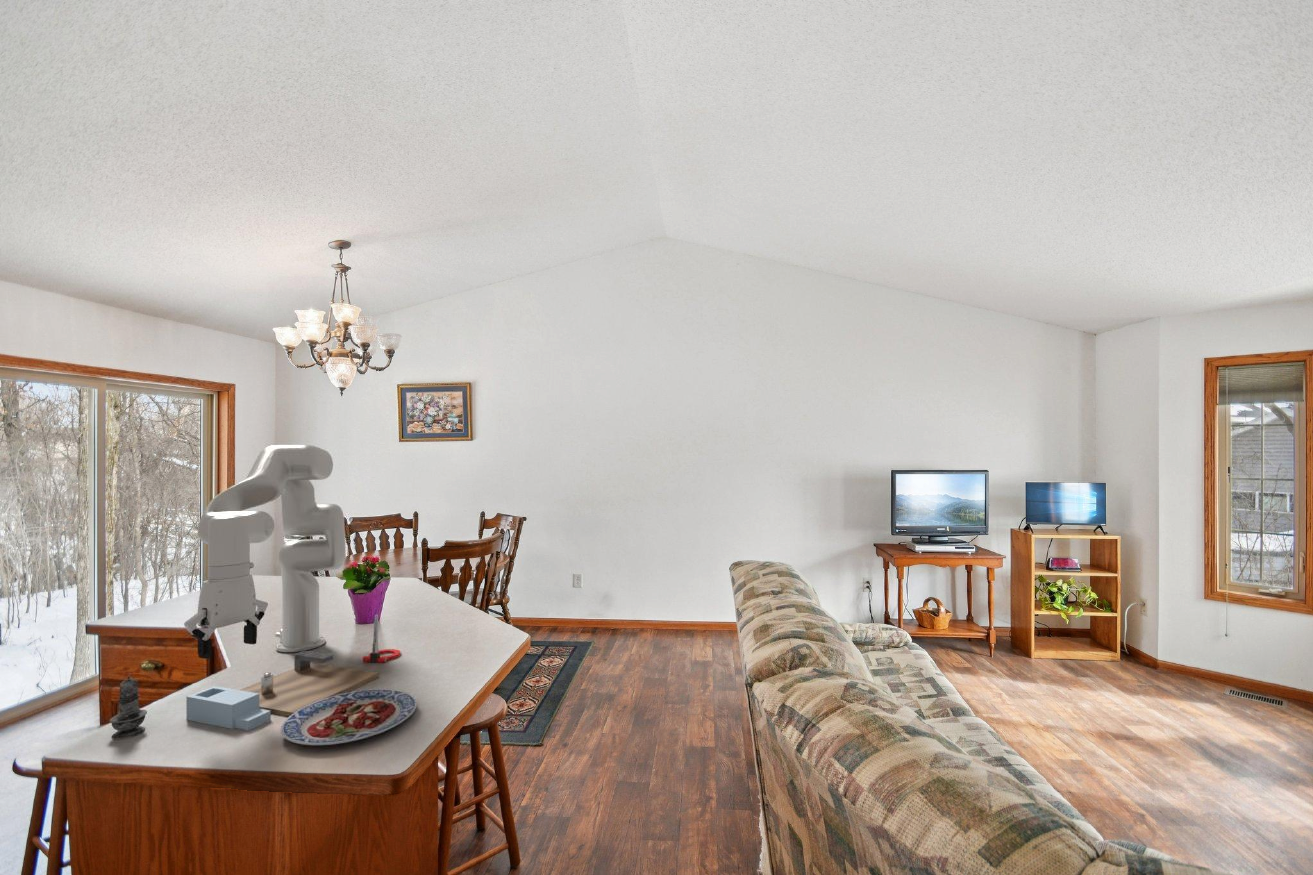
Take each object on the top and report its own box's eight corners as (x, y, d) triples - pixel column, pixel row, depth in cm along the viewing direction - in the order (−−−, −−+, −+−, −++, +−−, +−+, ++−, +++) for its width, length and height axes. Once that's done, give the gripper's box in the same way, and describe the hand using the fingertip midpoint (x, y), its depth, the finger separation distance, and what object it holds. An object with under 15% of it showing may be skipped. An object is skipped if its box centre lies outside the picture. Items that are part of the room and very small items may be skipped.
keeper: (294, 670, 154) (294, 654, 154) (304, 666, 157) (304, 650, 157) (323, 675, 151) (323, 658, 151) (333, 670, 154) (333, 654, 154)
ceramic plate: (328, 698, 140) (328, 685, 140) (435, 698, 139) (435, 685, 139) (249, 754, 114) (249, 739, 114) (380, 755, 114) (380, 739, 114)
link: (272, 718, 129) (272, 695, 129) (245, 731, 123) (245, 707, 123) (214, 707, 135) (214, 685, 135) (186, 719, 129) (186, 696, 129)
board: (217, 703, 137) (217, 698, 137) (308, 666, 160) (308, 662, 160) (294, 717, 129) (294, 712, 129) (378, 676, 152) (378, 672, 152)
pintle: (258, 694, 140) (258, 674, 140) (268, 690, 142) (268, 670, 142) (266, 695, 139) (266, 675, 139) (275, 691, 141) (275, 672, 141)
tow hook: (379, 652, 172) (359, 662, 163) (381, 607, 173) (360, 614, 164) (406, 653, 171) (387, 664, 162) (407, 608, 171) (388, 616, 162)
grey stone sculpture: (124, 727, 126) (125, 670, 126) (154, 725, 126) (154, 669, 126) (101, 740, 120) (101, 681, 120) (132, 739, 120) (132, 680, 121)
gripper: (254, 563, 139) (254, 637, 138) (174, 578, 122) (173, 662, 122) (278, 565, 136) (277, 640, 136) (199, 580, 120) (198, 665, 120)
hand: (228, 650), depth 129 cm, fingers open, 9 cm apart
